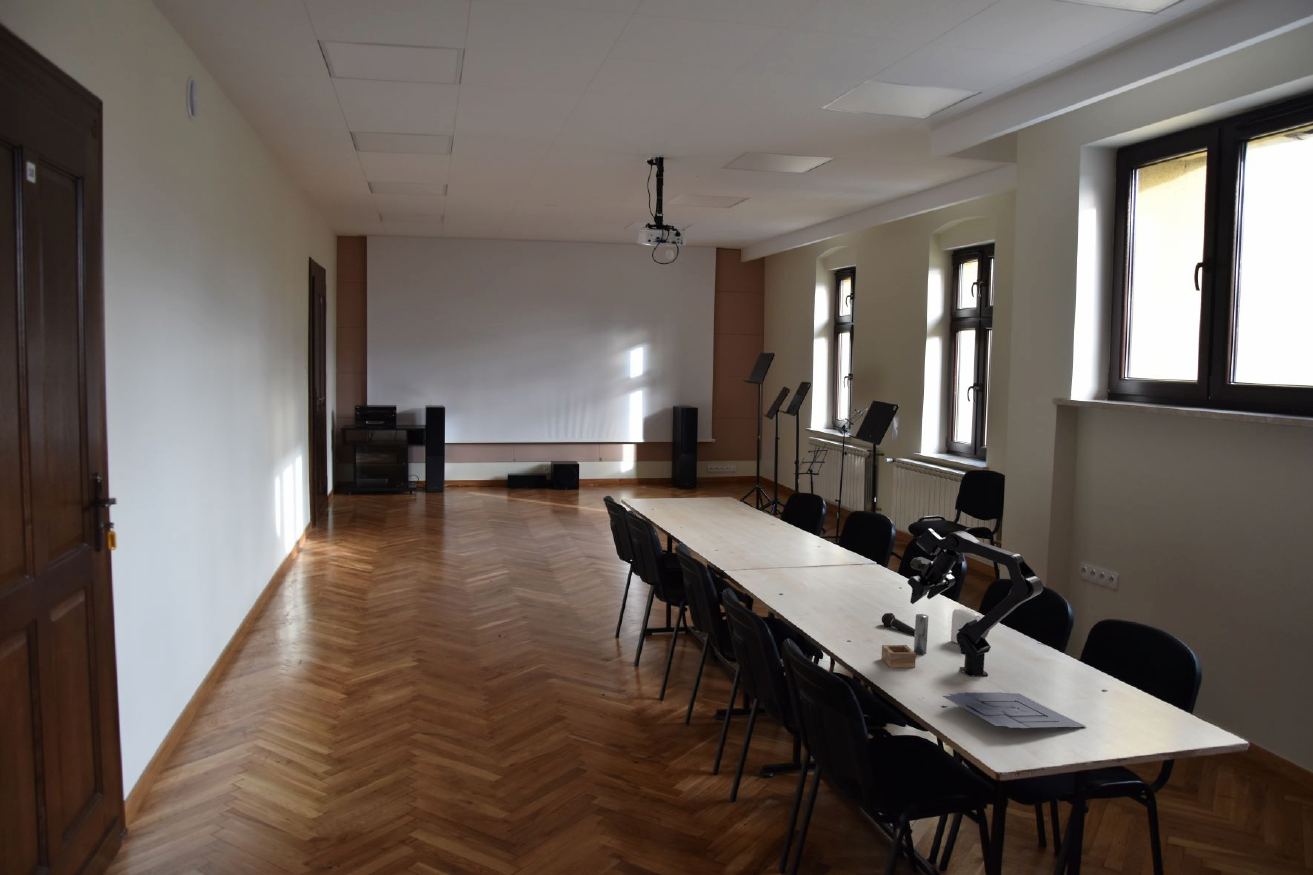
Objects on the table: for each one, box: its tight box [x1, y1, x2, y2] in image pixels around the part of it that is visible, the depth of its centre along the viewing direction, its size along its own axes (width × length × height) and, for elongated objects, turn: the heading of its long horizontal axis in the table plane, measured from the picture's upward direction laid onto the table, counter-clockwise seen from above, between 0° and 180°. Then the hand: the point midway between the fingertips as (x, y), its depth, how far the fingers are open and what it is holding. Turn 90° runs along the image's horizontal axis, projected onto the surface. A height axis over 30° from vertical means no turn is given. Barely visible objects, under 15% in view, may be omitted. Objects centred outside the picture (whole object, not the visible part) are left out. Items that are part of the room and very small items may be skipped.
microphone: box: [881, 612, 915, 637], centre depth 308 cm, size 5×5×19 cm
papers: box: [942, 691, 1087, 729], centre depth 236 cm, size 24×30×4 cm
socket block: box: [881, 644, 917, 669], centre depth 276 cm, size 8×8×4 cm
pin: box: [913, 613, 930, 656], centre depth 286 cm, size 4×4×12 cm
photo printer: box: [950, 607, 982, 644], centre depth 295 cm, size 10×4×12 cm, turn 29°
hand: (919, 600), depth 283 cm, fingers open, 9 cm apart
